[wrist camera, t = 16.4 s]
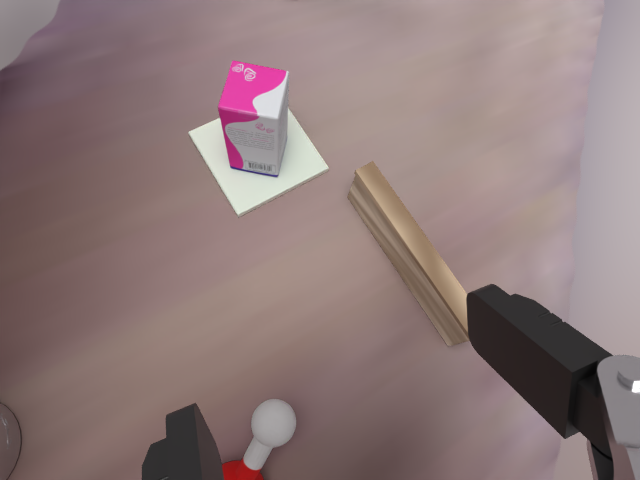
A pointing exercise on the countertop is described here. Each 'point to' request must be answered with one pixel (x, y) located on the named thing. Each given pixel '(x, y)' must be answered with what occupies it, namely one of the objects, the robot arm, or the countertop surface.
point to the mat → (251, 187)
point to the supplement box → (255, 117)
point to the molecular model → (263, 439)
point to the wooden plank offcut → (411, 253)
